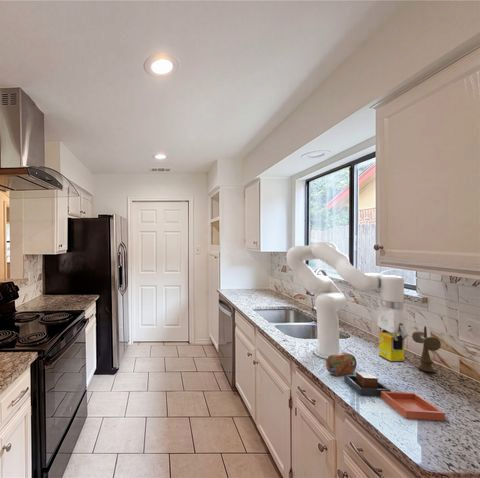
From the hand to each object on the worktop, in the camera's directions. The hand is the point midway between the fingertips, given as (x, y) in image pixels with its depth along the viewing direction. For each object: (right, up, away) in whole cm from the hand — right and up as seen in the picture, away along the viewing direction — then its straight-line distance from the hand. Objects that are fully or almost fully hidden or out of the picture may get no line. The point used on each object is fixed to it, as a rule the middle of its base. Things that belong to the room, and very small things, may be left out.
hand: (391, 345), depth 114 cm
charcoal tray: (-18, -14, -9) cm, 24 cm away
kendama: (+20, -14, +5) cm, 25 cm away
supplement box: (0, -6, 0) cm, 6 cm away
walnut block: (-18, -13, -9) cm, 24 cm away
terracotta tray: (-12, -13, -21) cm, 28 cm away
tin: (-19, -14, +4) cm, 24 cm away
